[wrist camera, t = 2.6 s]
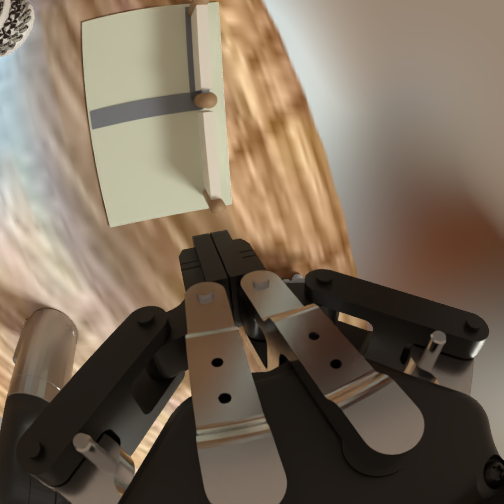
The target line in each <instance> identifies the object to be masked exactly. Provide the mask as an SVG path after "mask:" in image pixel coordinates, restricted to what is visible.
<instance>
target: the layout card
mask: <svg viewBox="0 0 504 504" xmlns="http://www.w3.org/2000/svg"><path fill="white" fill-rule="evenodd" d="M189 6H190V4H179V5H169V6H160V7H153V8H146V9H140V10H134V11H128V12H123V13H118V14H114V15H109V16H105V17H101V18H97V19H93V20H89V21H85V22H82V48H83V67H84V80H85V91H86V101H87V110H88V117H89V125H90V132H91V138H92V144H93V150H94V156H95V162H96V167H97V172H98V177H99V182H100V187H101V191H102V196H103V200H104V204H105V209H106V213H107V217H108V221H109V225H110V227H115V226H120V225H124V224H129V223H134V222H139V221H144V220H149V219H154V218H159V217H164V216H169V215H174V214H180V213H185V212H190V211H196V210H202V209H207V208H209V206H208V204H207V202H206V200H205V198H204V196H203V191H204V189H205V187H204V178H203V169H202V159H201V149H200V139H199V128H198V116H197V111H203V110H209V111H214V114H215V127H216V139H217V151H218V163H219V175H220V186H221V197H222V198H221V199H222V200H223V202H224V203H225V205H231V204H232V196H231V184H230V171H229V158H228V144H227V130H226V116H225V101H224V86H223V70H222V53H221V36H220V17H219V2H212V3H208V18H209V37H210V54H211V70H212V86H213V88H211V89H207V90H199V91H195V78H194V63H193V47H192V29H191V17H190V16H189V15H188V9H189ZM206 92H212V93H214V94H215V95H216V96H217V104H216V105H215V106H214V107H213V108H210V109H207V108H200V107H197V106H195V105H194V103H193V99H194V97H195V96H196V95H197V94H200V93H206Z"/></svg>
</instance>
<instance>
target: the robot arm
mask: <svg viewBox="0 0 504 504" xmlns="http://www.w3.org/2000/svg"><path fill="white" fill-rule="evenodd" d="M192 239H193V245H194V248H189V249H184V250H182V252H181V254H180V256H179V260H180V266H181V271H182V276H183V281H184V286H185V291H186V293H185V299H184V301H183V302H182V303H181V304H180V305H179V306H177V307H176V308H174V309H172V310H170V311H168V312H165V311H164V310H163V309H162V308H160V307H156V306H147V307H142V308H140V309H137V310H135V311H134V312H133V313H131V314H130V315H129V316H128V317H127V318H126V320H125V321H124V322H123V323H122V324H121V325H120V326H119V327H118V328H117V329H116V330H115V331H114V332H113V333H112V334H111V335H110V336H109V338H108V339H107V340H106V341H105V342H104V343H103V344H102V345H101V346H100V347H99V348H98V349H97V350H96V352H95V353H94V354H93V355H92V356H91V357H90V358H89V359H88V360H87V361H86V363H85V364H84V365H83V366H82V367H81V368H80V369H79V370H78V371H77V372H76V374H75V375H74V376H73V377H72V369H73V362H74V356H75V350H76V344H77V338H78V331H77V328H76V326H75V324H74V323H73V321H72V320H71V319H70V318H69V317H67V316H66V315H65V314H63V313H61V312H59V311H57V310H54V309H40V310H38V311H36V312H35V313H34V314H33V315H32V317H31V318H30V319H26V322H25V324H24V327H23V330H22V332H21V335H20V338H19V341H18V344H17V347H16V350H15V353H14V356H13V362H14V363H15V367H14V371H13V374H12V378H11V382H10V386H9V390H8V394H7V399H6V403H5V408H4V413H3V419H2V424H1V430H0V504H504V460H503V459H502V458H501V457H500V455H499V454H498V451H497V449H496V447H495V444H494V441H493V438H492V434H491V430H490V425H489V421H488V417H487V414H486V412H485V411H484V409H483V407H482V406H481V405H480V404H479V403H478V402H477V401H476V400H475V399H474V398H472V397H471V396H470V392H471V384H472V375H473V365H474V359H475V357H476V356H477V354H478V353H479V351H480V349H481V347H482V346H483V344H484V342H485V340H486V339H487V337H488V335H489V328H488V326H487V324H486V322H485V321H484V320H483V319H482V318H480V317H479V316H478V315H476V314H473V313H470V312H467V311H463V310H460V309H457V308H454V307H450V306H447V305H444V304H441V303H437V302H434V301H431V300H428V299H424V298H421V297H418V296H414V295H411V294H408V293H404V292H401V291H398V290H395V289H391V288H388V287H385V286H381V285H378V284H375V283H372V282H368V281H365V280H362V279H358V278H355V277H352V276H348V275H345V274H342V273H338V272H335V271H332V270H327V269H318V270H314V271H311V272H309V273H308V274H307V275H306V276H305V282H302V283H287V282H283V281H282V280H281V278H280V277H279V276H278V275H277V274H275V273H273V272H270V271H267V270H266V269H265V267H264V266H263V264H262V263H261V261H260V259H259V258H258V256H256V253H255V252H254V250H253V249H252V247H251V246H250V244H249V243H248V242H246V241H244V240H242V239H236V240H232V238H231V236H230V235H229V233H228V231H227V230H223V231H218V232H213V233H210V234H209V233H207V234H202V235H197V236H192ZM339 312H342V313H345V314H348V315H351V316H354V317H357V318H360V319H363V320H366V321H368V322H369V323H370V324H371V325H372V326H373V331H367V330H364V329H361V328H358V327H355V326H352V325H349V324H346V323H343V322H341V321H338V317H339ZM240 326H243V327H244V330H245V337H246V342H247V344H248V346H249V348H250V349H251V351H252V353H253V355H254V357H255V359H256V360H257V362H258V364H259V366H260V368H261V370H262V371H263V372H256V373H251V371H250V367H249V364H248V361H247V357H246V354H245V350H244V347H243V344H242V340H241V337H240V333H239V330H238V327H240ZM188 369H189V377H190V386H191V394H192V396H191V397H189V398H188V399H186V400H185V401H184V402H183V403H181V404H180V405H179V406H178V407H177V408H176V410H175V411H174V412H173V413H172V415H171V416H170V418H169V419H168V421H167V423H166V424H165V426H164V428H163V429H162V431H161V433H160V434H159V436H158V438H157V439H156V441H155V443H154V444H153V446H152V448H151V449H150V451H149V453H148V454H147V456H146V458H145V459H144V461H143V463H142V464H141V466H140V467H139V469H138V471H137V472H136V474H135V476H134V473H135V465H134V462H133V460H132V458H131V455H132V454H133V452H134V451H135V449H136V448H137V446H138V445H139V444H140V442H141V441H142V439H143V438H144V436H145V435H146V433H147V432H148V430H149V429H150V427H151V426H152V424H153V423H154V421H155V420H156V418H157V417H158V416H159V414H160V413H161V411H162V410H163V408H164V407H165V405H166V404H167V402H168V401H169V399H170V398H171V396H172V395H173V393H174V392H175V390H176V389H177V387H178V386H179V384H180V383H181V381H182V380H183V378H184V375H185V371H186V370H188ZM71 377H72V378H71Z"/></svg>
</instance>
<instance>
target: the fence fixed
mask: <svg viewBox="0 0 504 504" xmlns="http://www.w3.org/2000/svg"><path fill="white" fill-rule="evenodd" d="M209 1H210V0H192V1H191V4H190V6H189V9H188V15H189V16H190V17H191V29H192V47H193V63H194V78H195V91H199V90H207V89H211V88H213V86H212V70H211V54H210V37H209V18H208V2H209ZM193 103H194V105H195V106H197V107H200V108H207V109H210V108H213V107H214V106H215V105H216V104H217V96H216V95H215V94H214V93H212V92H206V93H200V94H197V95H196V96H195V97H194V99H193Z"/></svg>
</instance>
